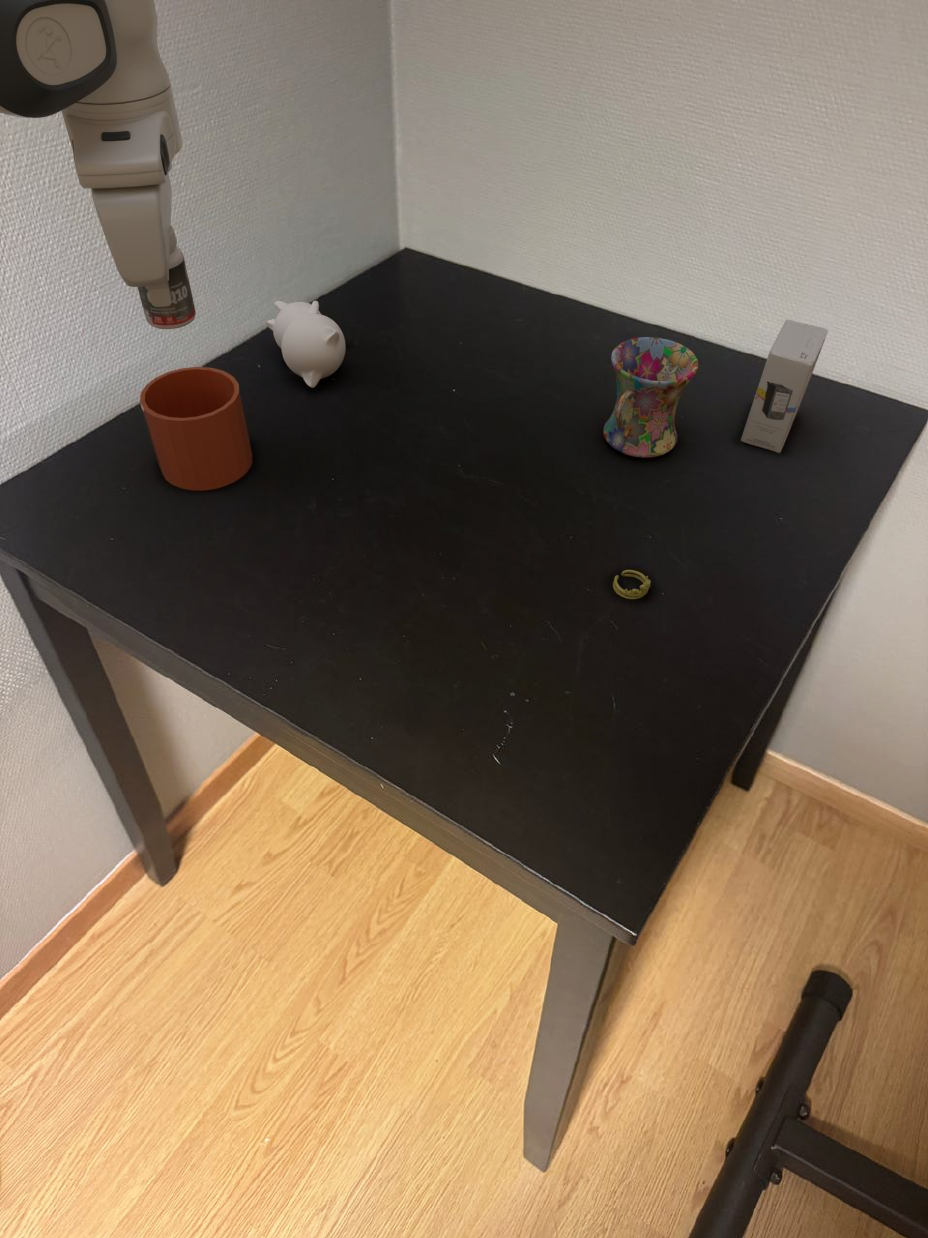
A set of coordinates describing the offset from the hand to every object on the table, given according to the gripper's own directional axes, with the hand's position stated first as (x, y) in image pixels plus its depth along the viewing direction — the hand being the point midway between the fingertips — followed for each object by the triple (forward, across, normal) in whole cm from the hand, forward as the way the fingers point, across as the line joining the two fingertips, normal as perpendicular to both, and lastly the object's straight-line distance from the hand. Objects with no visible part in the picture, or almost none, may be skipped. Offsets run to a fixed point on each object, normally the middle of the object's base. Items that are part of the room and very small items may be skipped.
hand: (163, 287), depth 81 cm
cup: (+20, 0, 0) cm, 20 cm away
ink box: (+20, +6, +65) cm, 68 cm away
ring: (+20, +28, +40) cm, 53 cm away
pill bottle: (+3, 0, 0) cm, 3 cm away
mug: (+20, +6, +48) cm, 53 cm away
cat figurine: (+20, -18, +14) cm, 31 cm away
